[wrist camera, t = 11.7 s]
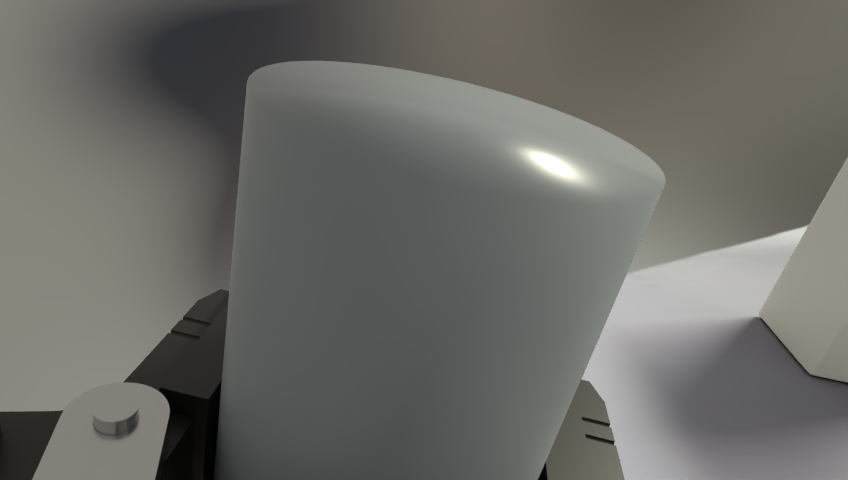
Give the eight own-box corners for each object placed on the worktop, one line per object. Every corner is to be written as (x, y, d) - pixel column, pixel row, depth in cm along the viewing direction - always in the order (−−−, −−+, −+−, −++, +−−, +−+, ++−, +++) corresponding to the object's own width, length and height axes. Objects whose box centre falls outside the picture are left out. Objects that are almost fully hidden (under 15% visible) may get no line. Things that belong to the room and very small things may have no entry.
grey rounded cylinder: (495, 759, 11) (796, 213, 6) (207, 951, 8) (324, 231, 3) (379, 527, 15) (504, 78, 10) (158, 604, 12) (176, 35, 7)
